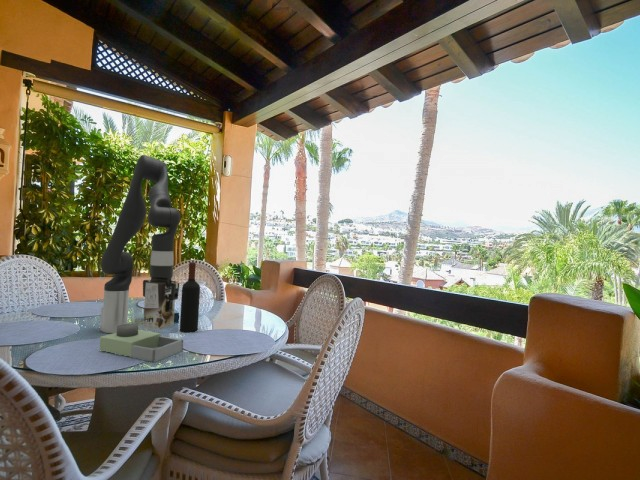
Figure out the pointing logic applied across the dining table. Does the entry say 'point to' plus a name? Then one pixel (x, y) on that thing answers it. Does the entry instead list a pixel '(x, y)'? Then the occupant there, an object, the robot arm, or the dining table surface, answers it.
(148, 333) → the green and grey tray
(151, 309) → the coffee box
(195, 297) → the wine bottle
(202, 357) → the dining table surface
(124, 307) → the robot arm
